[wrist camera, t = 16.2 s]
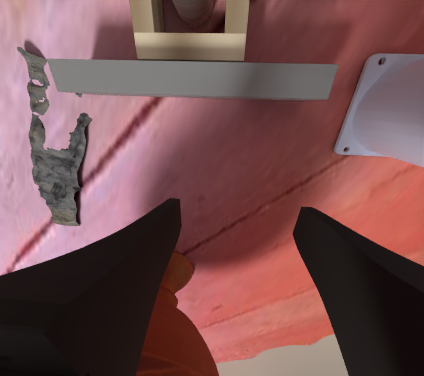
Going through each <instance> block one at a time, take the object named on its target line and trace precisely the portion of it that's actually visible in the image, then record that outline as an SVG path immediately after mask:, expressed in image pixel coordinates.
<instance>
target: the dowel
mask: <svg viewBox="0 0 424 376" xmlns="http://www.w3.org/2000/svg"><path fill="white" fill-rule="evenodd" d="M172 2H173V4H174V6H175V8H176V10H177V12H178V14H179V15H180V17H181V19H182V20H183V21H184V22H185V23H186V24H188V25H190V26H200V25H202V24H204V23H205V22H206V21H207V20H208V19H209V17H210V15H211V13H212V10H213V6H214V0H172Z"/></svg>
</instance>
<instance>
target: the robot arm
mask: <svg viewBox="0 0 424 376" xmlns="http://www.w3.org/2000/svg"><path fill="white" fill-rule="evenodd" d="M380 59H381V60H382V62H381V64H380V65H379V64H378V61H379V60H380ZM346 147H347V149H346V150H345V151H344V148H346ZM334 152H335V153H336V154H343V155H364V156H385V157H391V158H395V159H398V160H401V161H404V162H408V163H411V164H414V165H417V166H421V167H424V54H381V53H378V54H374V55H371V56H370V57H369V58H368V59H367V60H366V62H365V65H364V68H363V70H362V73H361V76H360V79H359V81H358V84H357V87H356V89H355V92H354V95H353V98H352V100H351V103H350V106H349V109H348V111H347V114H346V117H345V119H344V122H343V125H342V128H341V130H340V133H339V136H338V139H337V141H336V144H335V147H334ZM181 226H182V225H181V210H180V199H174V198H169V199H168V200H166V201H165V202H163V203H162V204H161V205H159V206H158V207H156V208H155V209H153V210H152V211H150V212H149V213H148V214H146V215H144V216H143V217H141V218H140V219H138V220H136V221H135V222H133V223H132V224H130V225H128V226H127V227H125V228H123V229H121V230H119V231H117V232H115V233H113V234H111V235H109V236H107V237H105V238H103V239H101V240H99V241H96V242H94V243H92V244H89V245H87V246H85V247H83V248H80V249H78V250H75V251H73V252H70V253H67V254H65V255H62V256H59V257H57V258H54V259H51V260H48V261H45V262H42V263H39V264H36V265H33V266H30V267H27V268H24V269H21V270H17V271H14V272H11V273H8V274H5V275H1V276H0V376H136V372H137V368H138V364H139V360H140V356H141V352H142V348H143V345H144V341H145V337H146V333H147V329H148V326H149V322H150V319H151V315H152V311H153V308H154V304H155V301H156V298H157V294H158V291H159V288H160V284H161V281H162V278H163V276H164V273H165V271H166V268H167V266H168V263H169V261H170V258H171V256H172V253H173V251H174V248H175V246H176V243H177V241H178V237H179V234H180V230H181ZM293 237H294V240H295V243H296V246H297V249H298V251H299V253H300V255H301V257H302V259H303V261H304V263H305V265H306V267H307V269H308V271H309V273H310V275H311V277H312V279H313V281H314V283H315V285H316V287H317V289H318V292H319V294H320V296H321V298H322V301H323V303H324V306H325V309H326V311H327V314H328V316H329V319H330V322H331V324H332V327H333V330H334V333H335V336H336V338H337V341H338V344H339V347H340V350H341V353H342V356H343V359H344V362H345V365H346V368H347V371H348V375H349V376H424V266H422V265H420V264H417V263H415V262H413V261H411V260H409V259H407V258H405V257H403V256H400V255H398V254H396V253H394V252H392V251H390V250H388V249H386V248H384V247H382V246H380V245H378V244H377V243H375V242H373V241H371V240H369V239H367V238H365V237H364V236H362V235H360V234H358V233H357V232H355V231H353V230H351V229H350V228H348V227H346V226H344V225H343V224H341V223H339V222H338V221H336V220H334V219H333V218H331V217H329V216H328V215H326V214H324V213H322V212H321V211H319V210H317V209H315V208H313V207H301V210H300V213H299V216H298V219H297V222H296V225H295V228H294V231H293Z"/></svg>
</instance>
